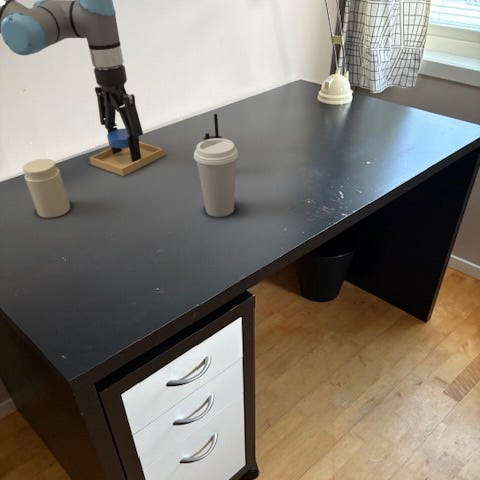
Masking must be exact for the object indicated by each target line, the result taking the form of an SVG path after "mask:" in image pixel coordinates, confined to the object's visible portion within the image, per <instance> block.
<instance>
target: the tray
mask: <svg viewBox="0 0 480 480" xmlns="http://www.w3.org/2000/svg"><path fill="white" fill-rule="evenodd" d="M139 145H140V154H141V159H139V160H137V161H135V162H132V160H131V154H130V149H129V147H127V148H122V151H121V152H118V153H116V154H113V153H112V148H111V147H110V148H108V149H105V150H103V151H101V152H99V153H97V154H94V155H92V156H90V157H89V161H90V165H91V166H94V167H97V168H99V169H102V170H105V171H108V172H111V173H113V174H117V175H119V176H121V177H125V176H127V175H129V174H131V173H132V172H133V173H134V172H135V171H137V170H139V169H142V167H145V166H146V165H149V164H150V163H153V162H155V161H157V160H159V159H160V158H163V157H164V156H165V154H164V153H165V152H164V148H161V147H158V146H155V145H151V144H148V143H145V142H141V141H139Z"/></svg>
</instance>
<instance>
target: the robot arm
mask: <svg viewBox="0 0 480 480" xmlns="http://www.w3.org/2000/svg"><path fill="white" fill-rule="evenodd" d="M116 13H117V12H116V10H115V6H114V2H113V0H37V2H36V1H35V2H34V3H33V6H32V7H27V6H25V5H24V4H22V3H20V2H18V1H17V0H0V35H1V38H2V40H3V42H4V44H5V45H7V47H8V48H9V50H10V51H11V52H13V53H15V54H16V55H19V56H24V57H25V56H29V55H35V54H37V53H39V52H42V50H44V49H46V48H48V47H50V46H53V45H55V44H58V43H59V42H61V41H64V40H66V39H86V42H87V45H88V50H89V55H90V59H91V64H92V67H94V68H93V73H94V78H95V82H96V85H98V86H96V87H94V92H95V94H96V98H97V99H96V100H97V106H98V107H97V108H98V114H99V121H100V125H101V126H104V128H105V129H106V130H107V134H108V133H110V132H111V131H114V130H117V129H118V124H117V123H116V116H117V115H116V113H119V116H120V118H121V120H122V121H121V122H122V124H123V125H124V129H125V128H126V130H127V133H128V135H129V137H127V139H128V144H129V149H130V154H131V160H132V162H135V161H137V160H139V159H141V154H140V145H139V142H140V139H139V140H138V137H141V136H143V135H144V131H143V127H142V124H141V120H140V116H139V113H138V109H137V106H136V97H135V94H133V93H131V94H129V93H127V90H126V88H125V85H126V83H127V81H128V77H127V72H126V67H125V65H124V63H125V61H124V57H123V51H122V46H121V40H120V35H119V28H118V21H117V16H116ZM110 148H112V153H113V154H116V153H118V152H121V151H122V148H114V147H111V146H110Z"/></svg>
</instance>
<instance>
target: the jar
mask: <svg viewBox="0 0 480 480" xmlns="http://www.w3.org/2000/svg"><path fill="white" fill-rule="evenodd" d="M22 169H23V173H24V180H25V184H26V185H27V188H28V191H29V194H30V196H31V199H32V202H33V205H34V207H35V210H36V213H37V215H38V216H39V217H42V218H46V219H47V218H49V219H50V218H51V219H52V218H57V217H61V216H62V215H66V213H68V212H69V211H70V209H71V204H70V200H69V196H68V193H67V191H66V187H65V185H64V180H63V178H62V175H61V171H60V169H59V168H58V167H57V163H56V162H55V160H54V159H50V158H38V159H33V160H30V161H28V162H27V163H25V164H24V165H23V167H22Z"/></svg>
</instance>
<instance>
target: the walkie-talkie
mask: <svg viewBox="0 0 480 480" xmlns="http://www.w3.org/2000/svg"><path fill="white" fill-rule="evenodd" d="M213 122H214V135H210V133H208V132H206V133H205V134H204V135H205V136H204V137H203V140H202V141H204V140H208V139H214V138H221V139H223V137H222V136H221V135H220V134H219V119H218V113H214V114H213Z"/></svg>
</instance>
